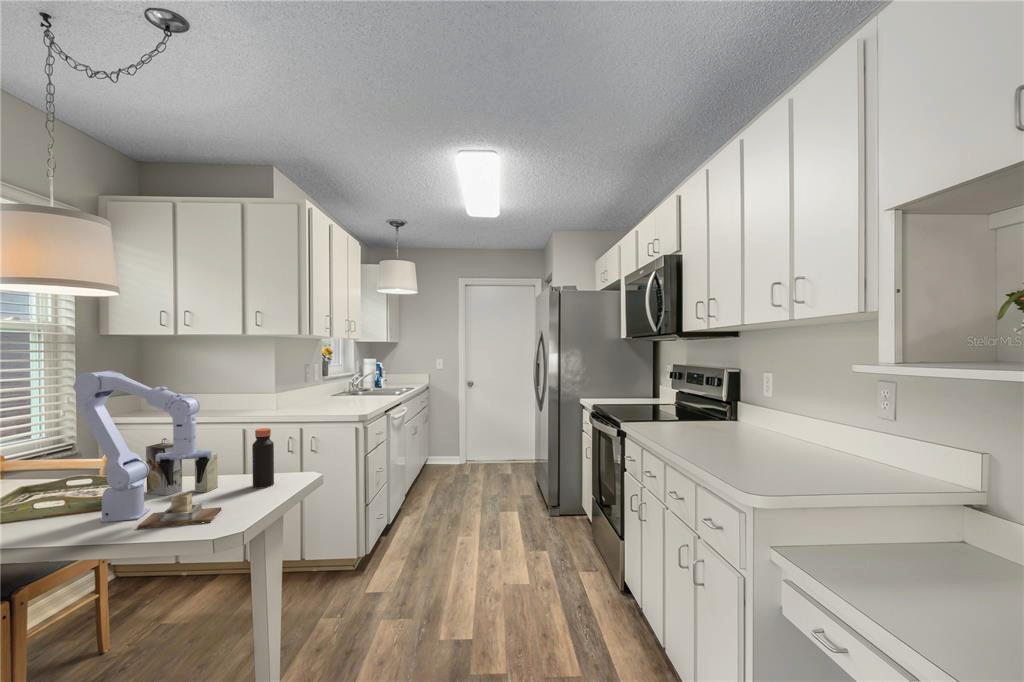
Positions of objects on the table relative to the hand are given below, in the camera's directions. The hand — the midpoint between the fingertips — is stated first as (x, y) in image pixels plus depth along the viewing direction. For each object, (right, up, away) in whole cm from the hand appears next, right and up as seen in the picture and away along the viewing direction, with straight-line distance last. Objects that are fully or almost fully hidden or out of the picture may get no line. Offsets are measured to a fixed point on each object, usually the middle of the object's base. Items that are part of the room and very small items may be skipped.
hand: (185, 483), depth 148 cm
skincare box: (-8, -9, +24) cm, 27 cm away
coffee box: (-21, -9, +21) cm, 31 cm away
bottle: (+9, -9, +29) cm, 31 cm away
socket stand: (+1, -9, -4) cm, 10 cm away
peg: (+1, -8, -4) cm, 9 cm away
